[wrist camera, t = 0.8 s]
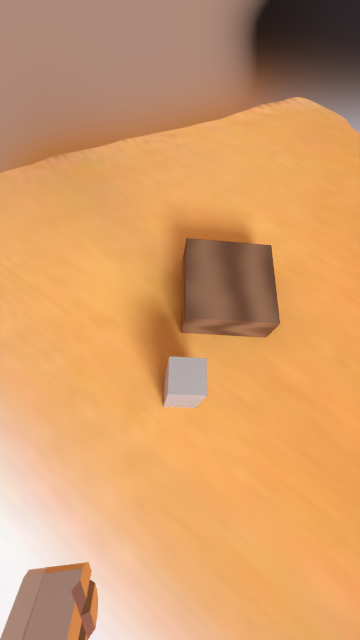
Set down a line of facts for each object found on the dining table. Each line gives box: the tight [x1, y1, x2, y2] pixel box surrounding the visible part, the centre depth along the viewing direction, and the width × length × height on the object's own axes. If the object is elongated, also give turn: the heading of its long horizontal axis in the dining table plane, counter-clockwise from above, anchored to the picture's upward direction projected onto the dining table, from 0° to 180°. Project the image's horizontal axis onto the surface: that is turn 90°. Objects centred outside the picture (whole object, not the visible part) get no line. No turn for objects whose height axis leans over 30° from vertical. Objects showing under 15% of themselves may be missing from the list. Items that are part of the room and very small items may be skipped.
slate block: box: [163, 356, 207, 408], centre depth 38 cm, size 4×4×8 cm
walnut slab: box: [181, 238, 280, 337], centre depth 45 cm, size 12×12×5 cm
